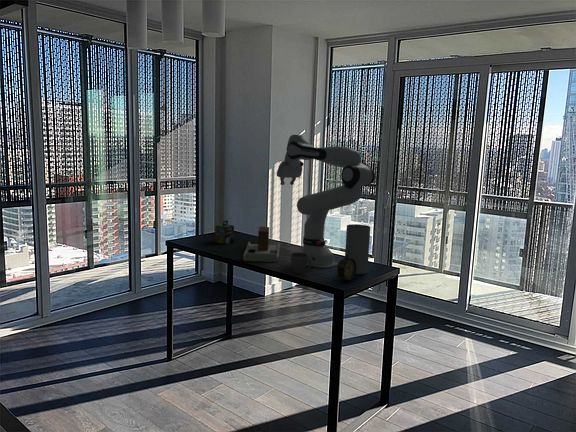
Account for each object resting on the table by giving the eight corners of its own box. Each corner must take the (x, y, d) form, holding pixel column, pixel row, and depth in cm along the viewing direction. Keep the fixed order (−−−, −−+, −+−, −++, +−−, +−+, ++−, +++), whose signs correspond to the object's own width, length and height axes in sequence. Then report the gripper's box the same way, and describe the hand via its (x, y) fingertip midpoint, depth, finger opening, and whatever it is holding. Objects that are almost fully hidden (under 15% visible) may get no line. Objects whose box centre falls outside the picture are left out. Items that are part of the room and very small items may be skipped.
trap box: (248, 246, 312) (248, 239, 312) (279, 247, 312) (279, 240, 312) (243, 260, 277) (243, 253, 276) (278, 261, 277) (278, 254, 276)
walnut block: (259, 245, 310) (259, 226, 308) (268, 245, 310) (269, 227, 308) (257, 250, 296) (258, 231, 294) (267, 250, 296) (268, 231, 294)
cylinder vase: (347, 267, 271) (350, 223, 266) (369, 270, 266) (372, 225, 262) (341, 273, 259) (343, 227, 255) (364, 276, 255) (367, 229, 250)
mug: (287, 272, 257) (287, 254, 255) (296, 268, 264) (297, 251, 262) (306, 276, 250) (306, 258, 248) (315, 273, 257) (316, 255, 256)
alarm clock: (343, 284, 239) (345, 252, 236) (334, 282, 243) (336, 250, 240) (356, 280, 247) (357, 249, 244) (347, 277, 251) (349, 247, 248)
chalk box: (224, 240, 327) (224, 218, 325) (234, 242, 322) (234, 220, 320) (214, 242, 320) (214, 220, 318) (224, 244, 315) (224, 222, 312)
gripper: (285, 162, 276) (280, 186, 279) (305, 163, 293) (300, 185, 296) (276, 160, 280) (272, 183, 283) (297, 161, 296) (292, 183, 299)
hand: (286, 184), depth 290 cm, fingers open, 8 cm apart
